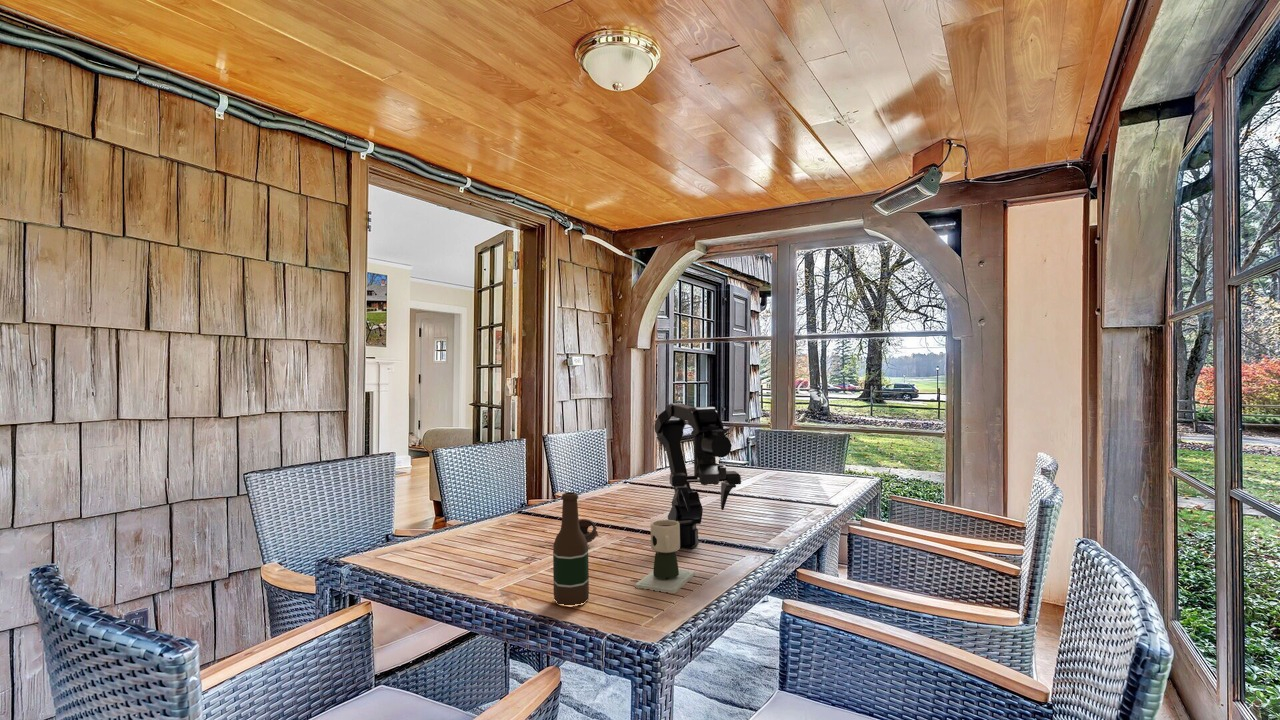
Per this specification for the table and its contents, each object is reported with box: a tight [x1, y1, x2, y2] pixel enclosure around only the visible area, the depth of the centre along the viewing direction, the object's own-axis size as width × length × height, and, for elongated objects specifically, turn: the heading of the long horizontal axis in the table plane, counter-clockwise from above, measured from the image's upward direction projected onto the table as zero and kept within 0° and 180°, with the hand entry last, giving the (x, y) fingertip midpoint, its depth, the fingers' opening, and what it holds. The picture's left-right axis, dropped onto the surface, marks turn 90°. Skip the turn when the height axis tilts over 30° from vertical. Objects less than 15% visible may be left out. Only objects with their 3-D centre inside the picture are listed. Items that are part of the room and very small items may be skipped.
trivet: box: [634, 568, 696, 594], centre depth 144 cm, size 10×14×1 cm
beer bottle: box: [552, 491, 590, 605], centre depth 132 cm, size 8×8×24 cm
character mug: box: [650, 519, 681, 579], centre depth 144 cm, size 11×7×13 cm, turn 2°
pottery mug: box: [579, 518, 599, 543], centre depth 177 cm, size 12×10×8 cm
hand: (705, 510), depth 161 cm, fingers open, 9 cm apart
